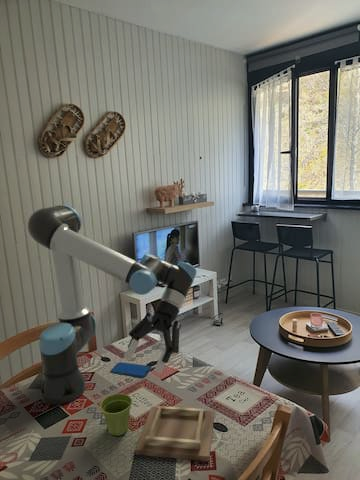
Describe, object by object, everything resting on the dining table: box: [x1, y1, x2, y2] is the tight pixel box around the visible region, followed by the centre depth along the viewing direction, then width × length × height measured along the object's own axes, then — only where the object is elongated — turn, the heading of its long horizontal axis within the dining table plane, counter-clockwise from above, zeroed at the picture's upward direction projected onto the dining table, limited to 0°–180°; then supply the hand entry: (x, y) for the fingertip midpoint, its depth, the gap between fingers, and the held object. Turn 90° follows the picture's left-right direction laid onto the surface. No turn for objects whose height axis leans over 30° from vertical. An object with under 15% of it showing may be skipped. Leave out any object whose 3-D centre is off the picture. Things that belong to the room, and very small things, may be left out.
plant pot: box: [99, 393, 133, 437], centre depth 106 cm, size 9×9×9 cm
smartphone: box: [109, 361, 153, 378], centre depth 138 cm, size 7×1×15 cm
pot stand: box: [134, 405, 215, 462], centre depth 103 cm, size 20×18×4 cm
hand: (141, 365), depth 112 cm, fingers open, 13 cm apart
